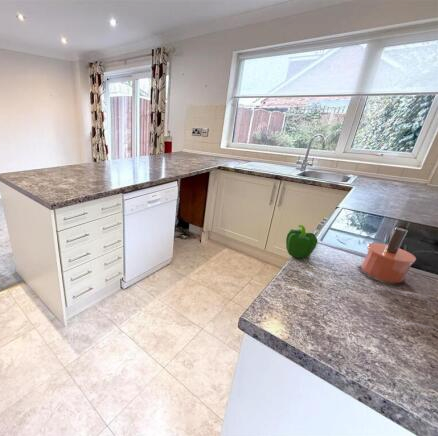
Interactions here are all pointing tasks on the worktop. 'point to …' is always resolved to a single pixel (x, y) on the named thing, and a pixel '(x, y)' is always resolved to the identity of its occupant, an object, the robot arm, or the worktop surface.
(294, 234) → the bell pepper
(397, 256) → the lid
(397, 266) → the pot
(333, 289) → the worktop surface
